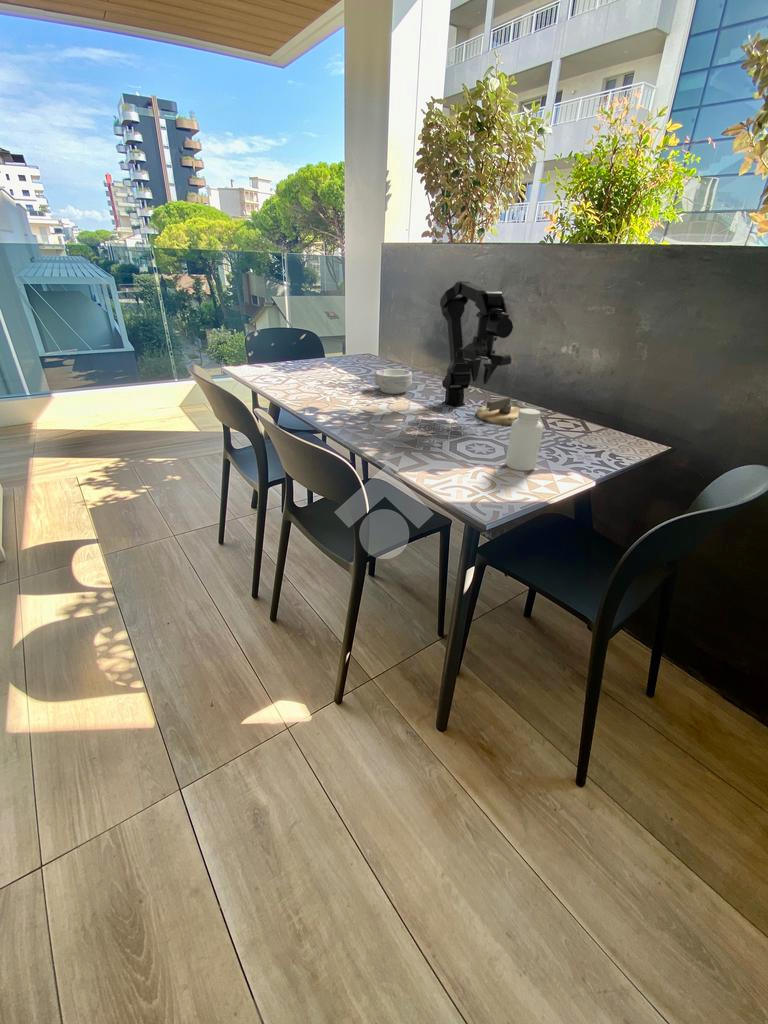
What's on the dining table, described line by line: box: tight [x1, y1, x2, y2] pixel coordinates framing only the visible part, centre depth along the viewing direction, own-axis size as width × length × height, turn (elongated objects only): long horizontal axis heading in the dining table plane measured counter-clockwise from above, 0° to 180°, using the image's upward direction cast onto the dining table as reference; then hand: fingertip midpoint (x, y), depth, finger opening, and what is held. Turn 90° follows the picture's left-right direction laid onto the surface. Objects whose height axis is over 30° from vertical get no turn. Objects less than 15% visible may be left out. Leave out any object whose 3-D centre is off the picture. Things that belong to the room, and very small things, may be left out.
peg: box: [481, 396, 513, 413], centre depth 154 cm, size 15×4×5 cm, turn 131°
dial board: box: [476, 405, 522, 426], centre depth 159 cm, size 19×19×2 cm
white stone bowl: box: [374, 368, 413, 395], centre depth 185 cm, size 15×15×8 cm
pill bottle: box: [505, 408, 544, 472], centre depth 117 cm, size 8×8×15 cm
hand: (479, 382), depth 153 cm, fingers open, 4 cm apart
